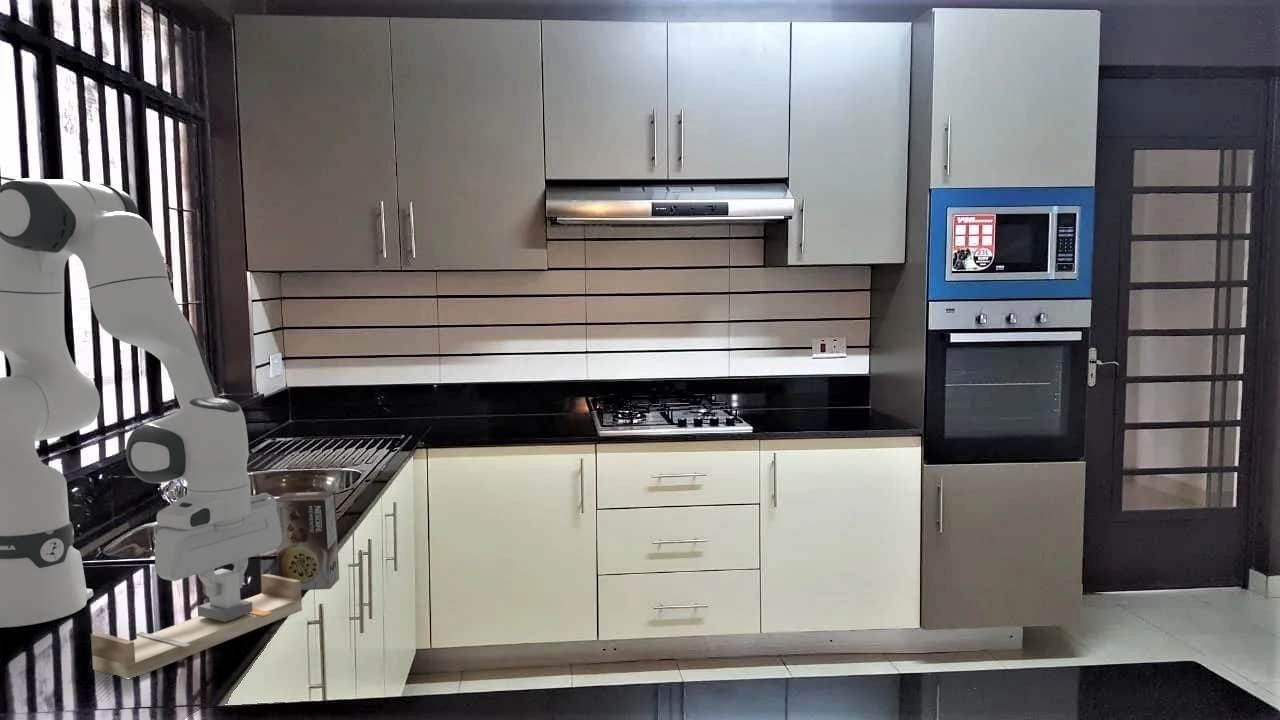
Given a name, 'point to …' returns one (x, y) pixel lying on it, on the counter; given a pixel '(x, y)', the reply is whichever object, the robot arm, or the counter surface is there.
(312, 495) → the coffee box
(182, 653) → the fader track
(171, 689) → the counter surface
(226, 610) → the fader tab
